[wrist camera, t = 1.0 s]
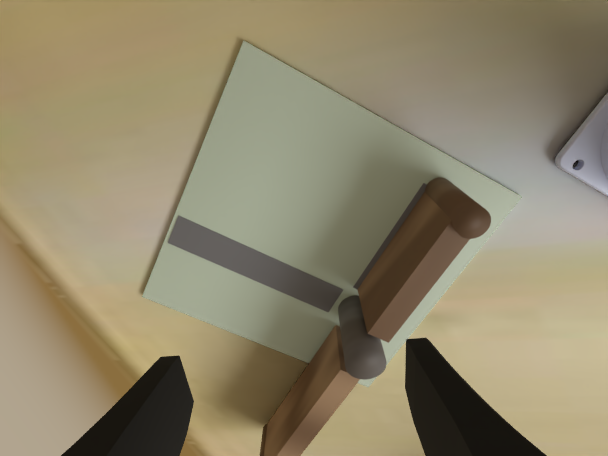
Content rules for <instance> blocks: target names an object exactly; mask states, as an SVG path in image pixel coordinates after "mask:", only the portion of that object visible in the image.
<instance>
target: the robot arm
mask: <svg viewBox="0 0 608 456" xmlns="http://www.w3.org/2000/svg"><path fill="white" fill-rule="evenodd" d="M577 160H578V164H577V166H576V167H574V168H573V164H574V162H575V161H577ZM555 163H556V166H557V167H558V168H560V169H562V170H563V171H565V172H567V173H568V174H570V175H572V176H574V177H575V178H577V179H579V180H580V181H582V182H584V183H585V184H587V185H589V186H590V187H592V188H594V189H595V190H597V191H599V192H600V193H602V194H604V195H605V196H607V197H608V93H607V94H606V95H605V96H604V97H603V99H602V100H601V101H600V102H599V104H598V105H597V106H596V107H595V109H594V110H593V111H592V112H591V114H590V115H589V116H588V117H587V118H586V120H585V121H584V122H583V123H582V125H581V126H580V127H579V128H578V130H577V131H576V132H575V133H574V135H573V136H572V137H571V138H570V140H569V141H568V142H567V143H566V144H565V146H564V147H563V148H562V149H561V151H560V152H559V153H558V155H557V156H556V159H555ZM405 389H406V393H407V397H408V401H409V406H410V410H411V414H412V418H413V421H414V424H415V427H416V430H417V433H418V436H419V439H420V441H421V444H422V447H423V450H424V453H425V455H426V456H547V455H545V454H544V453H543V452H541V451H540V450H539V449H538V448H537V447H535V446H534V445H533V444H532V443H531V442H529V441H528V440H527V439H526V438H525V437H523V436H522V435H521V434H520V433H519V432H518V431H517V430H515V429H514V428H513V427H512V426H511V425H510V424H509V423H508V422H506V421H505V420H504V419H503V418H502V417H501V416H500V415H499V414H498V413H497V412H496V411H495V410H494V409H493V408H491V407H490V406H489V405H488V404H487V403H486V402H485V401H484V400H483V399H482V398H481V397H480V396H479V395H478V394H477V393H476V392H475V391H474V390H473V389H472V388H471V387H470V385H469V384H468V383H467V382H466V381H465V380H464V379H463V378H462V377H461V376H460V375H459V374H458V373H457V372H456V371H455V370H454V368H453V367H452V366H451V365H450V364H449V363H448V362H447V361H446V360H445V358H444V357H443V356H442V355H441V354H440V353H439V351H438V350H437V349H436V348H435V347H434V346H433V344H432V343H431V342H430V341H429V340H428V339H427V338H417V339H406V374H405ZM193 403H194V401H193V397H192V394H191V391H190V388H189V385H188V382H187V378H186V375H185V372H184V369H183V366H182V362H181V359H180V356H167V357H160V358H159V359H158V360H157V361H156V362H155V363H154V364H153V365H152V366H151V368H150V369H149V370H148V371H147V372H146V373H145V374H144V375H143V376H142V377H141V378H140V379H139V380H138V381H137V382H136V383H135V384H134V385H133V386H132V388H131V389H130V390H129V391H128V392H127V393H126V394H125V395H124V396H123V397H122V398H121V399H120V400H119V401H118V402H117V403H116V404H115V405H114V406H113V407H112V408H111V409H110V410H109V411H108V412H107V413H106V414H105V415H104V416H103V417H102V418H101V419H100V420H99V421H98V422H97V423H96V424H95V425H94V426H93V427H91V428H90V429H89V430H88V431H87V432H86V433H85V434H84V435H83V436H82V437H81V438H80V439H79V440H78V441H77V442H76V443H75V444H74V445H72V446H71V448H69V449H68V450H67V451H66V452H65V453H63V454H62V455H61V456H179V455H180V453H181V449H182V447H183V444H184V441H185V438H186V435H187V430H188V426H189V422H190V417H191V413H192V408H193Z"/></svg>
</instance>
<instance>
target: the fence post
mask: <svg viewBox="0 0 608 456" xmlns="http://www.w3.org/2000/svg"><path fill="white" fill-rule="evenodd" d="M490 224H491V216H490V214H489V212H488V211H487V210H486V209H485V208H483V207H482V206H481V205H480V204H478V203H477V202H476V201H474V200H473V199H472V198H471V197H469V196H468V195H467V194H465V193H464V192H463V191H462V190H460V189H459V188H458V187H457V186H455V185H454V184H453V183H451V182H450V181H449V180H447V179H446V178H442V177H438V178H434V179H432V180H431V181H430V182H429V183H428V184H427V186H426V188H425V192H424V193H423V195H422V196H421V198H420V199H419V201H418V202H417V203H416V205H415V206H414V208H413V209H412V211H411V212H410V214H409V215H408V217H407V218H406V219H405V221H404V222H403V224H402V225H401V227H400V228H399V230H398V231H397V233H396V234H395V236H394V237H393V238H392V240H391V241H390V243H389V244H388V246H387V247H386V249H385V250H384V252H383V253H382V255H381V256H380V257H379V259H378V260H377V262H376V263H375V265H374V266H373V268H372V269H371V271H370V272H369V273H368V275H367V276H366V278H365V279H364V281H363V282H362V284H361V285H360V287H359V288H358V294H359V296H358V295H354V296H349V297H347V298H345V299H344V300H342V301H341V303H340V304H339V307H338V315H339V322H340V330H341V338H342V346H343V354H344V362H345V368H346V371H347V372H348V373H349V374H350V375H351V376H353V377H354V378H357V379H363V380H366V379H372V378H375V377H377V376H379V375H380V374H381V373H382V372H383V371H384V370H385V368H386V364H387V362H386V357H385V354H384V350H383V346H382V343H381V340H383V341H386V342H388V343H389V342H390V341H391V339H392V338H393V337H394V335H395V334H396V333H397V332H398V330H399V329H400V328H401V327H402V325H403V324H404V323H405V321H406V320H407V319H408V318H409V316H410V315H411V314H412V312H413V311H414V310H415V309H416V307H417V306H418V305H419V304H420V302H421V301H422V300H423V298H424V297H425V296H426V295H427V293H428V292H429V291H430V290H431V288H432V287H433V286H434V284H435V283H436V282H437V281H438V279H439V278H440V277H441V276H442V274H443V273H444V272H445V270H446V269H447V268H448V267H449V265H450V264H451V263H452V261H453V260H454V259H455V258H456V256H457V255H458V254H459V253H460V251H461V250H462V249H463V247H464V246H465V245H466V244H467V242H468V241H469V240H470V239H473V238H477V237H480V236H481V235H483V234H484V233H485V232H486V231H487V230H488V229H489V227H490Z"/></svg>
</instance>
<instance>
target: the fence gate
mask: <svg viewBox="0 0 608 456" xmlns="http://www.w3.org/2000/svg"><path fill="white" fill-rule="evenodd" d="M359 380H360V379H357V378H354V377H353V376H351V375H350V374H349V373H348V372H347V371H346V368H345V362H344V354H343V346H342V338H341V330H340V326H338V325H335V326H334V328H333V329H332V331H331V332H330V334H329V335H328V337H327V338H326V339H325V341H324V342H323V344H322V345H321V347H320V348H319V350H318V351H317V353H316V354H315V355H314V357H313V358H312V360H311V361H310V363H309V364H308V366H307V367H306V368H305V370H304V371H303V373H302V374H301V376H300V377H299V379H298V380H297V382H296V383H295V384H294V386H293V387H292V389H291V390H290V392H289V393H288V395H287V396H286V398H285V399H284V400H283V402H282V403H281V405H280V406H279V408H278V409H277V411H276V412H275V414H274V415H273V416H272V418H271V419H270V421H269V422H268V424H266V425H265V426H264V427H263V434H262V442H261V450H260V456H300V455H301V454H302V453H303V451H304V450H305V449H306V448H307V446H308V445H309V444H310V443H311V441H312V440H313V439H314V437H315V436H316V435H317V434H318V432H319V431H320V430H321V428H322V427H323V426H324V425H325V423H326V422H327V421H328V420H329V418H330V417H331V416H332V414H333V413H334V412H335V411H336V409H337V408H338V407H339V406H340V404H341V403H342V402H343V400H344V399H345V398H346V397H347V395H348V394H349V393H350V392H351V390H352V389H353V388H354V386H355V385H356V384H357V383H358V381H359Z"/></svg>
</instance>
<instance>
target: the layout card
mask: <svg viewBox="0 0 608 456" xmlns="http://www.w3.org/2000/svg"><path fill="white" fill-rule="evenodd" d="M438 177H442V178H446V179H447V180H449V181H450V182H451V183H453V184H454V185H455V186H457V187H458V188H459V189H460V190H462V191H463V192H464V193H465V194H467V195H468V196H469V197H471V198H472V199H473V200H474V201H476V202H477V203H478V204H480V205H481V206H482V207H483V208H485V209H486V210H487V211H488V212H489V214H490V216H491V224H490V227H489V229H488V230H487V231H486V232H485V233H484V234H483V235H481V236H480V237H477V238H473V239H470V240H469V241H468V242H467V244H466V245H465V246H464V247H463V249H462V250H461V251H460V253H459V254H458V255H457V256H456V258H455V259H454V260H453V261H452V263H451V264H450V265H449V267H448V268H447V269H446V270H445V272H444V273H443V274H442V276H441V277H440V278H439V279H438V281H437V282H436V283H435V284H434V286H433V287H432V288H431V290H430V291H429V292H428V293H427V295H426V296H425V297H424V298H423V300H422V301H421V302H420V304H419V305H418V306H417V307H416V309H415V310H414V311H413V312H412V314H411V315H410V316H409V318H408V319H407V320H406V321H405V323H404V324H403V325H402V327H401V328H400V329H399V330H398V332H397V333H396V334H395V335H394V337H393V338H392V339H391V341H390V342H389V343H388V342H386V341H383V340H381V343H382V346H383V350H384V354H385V357H386V362H387V364H388V363H389V361H390V360H391V359H392V358H393V356H394V355H395V354H396V353H397V351H398V350H399V349H400V348H401V346H402V345H403V344H404V343H405V342H406V339H408V338H409V337H410V335H411V334H412V333H413V332H414V330H415V329H416V328H417V327H418V325H419V324H420V323H421V322H422V320H423V319H424V318H425V317H426V316H427V314H428V313H429V312H430V311H431V309H432V308H433V307H434V306H435V304H436V303H437V302H438V301H439V299H440V298H441V297H442V296H443V294H444V293H445V292H446V291H447V290H448V288H449V287H450V286H451V285H452V283H453V282H454V281H455V280H456V278H457V277H458V276H459V275H460V273H461V272H462V271H463V270H464V268H465V267H466V266H467V265H468V264H469V262H470V261H471V260H472V259H473V257H474V256H475V255H476V254H477V252H478V251H479V250H480V249H481V247H482V246H483V245H484V244H485V242H486V241H487V240H488V239H489V238H490V236H491V235H492V234H493V233H494V231H495V230H496V229H497V228H498V226H499V225H500V224H501V223H502V221H503V220H504V219H505V218H506V216H507V215H508V214H509V213H510V212H511V210H512V209H513V208H514V207H515V205H516V204H517V203H518V202H519V200H520V199H521V198H522V197H521V196H520V195H518V194H516V193H514V192H513V191H511V190H509V189H507V188H505V187H504V186H502V185H500V184H498V183H497V182H495V181H493V180H491V179H489V178H488V177H486V176H484V175H482V174H481V173H479V172H477V171H475V170H473V169H472V168H470V167H468V166H466V165H465V164H463V163H461V162H459V161H457V160H456V159H454V158H452V157H450V156H449V155H447V154H445V153H443V152H441V151H440V150H438V149H436V148H434V147H433V146H431V145H429V144H427V143H425V142H424V141H422V140H420V139H418V138H416V137H415V136H413V135H411V134H409V133H408V132H406V131H404V130H402V129H400V128H399V127H397V126H395V125H393V124H392V123H390V122H388V121H386V120H384V119H383V118H381V117H379V116H377V115H376V114H374V113H372V112H370V111H368V110H367V109H365V108H363V107H361V106H360V105H358V104H356V103H354V102H352V101H351V100H349V99H347V98H345V97H344V96H342V95H340V94H338V93H336V92H335V91H333V90H331V89H329V88H327V87H326V86H324V85H322V84H320V83H319V82H317V81H315V80H313V79H311V78H310V77H308V76H306V75H304V74H303V73H301V72H299V71H297V70H295V69H294V68H292V67H290V66H288V65H287V64H285V63H283V62H281V61H279V60H278V59H276V58H274V57H272V56H271V55H269V54H267V53H265V52H263V51H262V50H260V49H258V48H256V47H254V46H253V45H251V44H249V43H247V42H246V41H243V43H242V46H241V48H240V51H239V53H238V56H237V59H236V61H235V64H234V66H233V69H232V71H231V74H230V76H229V79H228V81H227V84H226V86H225V89H224V91H223V94H222V96H221V99H220V101H219V104H218V106H217V109H216V112H215V114H214V117H213V119H212V122H211V124H210V127H209V129H208V132H207V134H206V137H205V139H204V142H203V144H202V147H201V149H200V152H199V154H198V157H197V159H196V162H195V164H194V167H193V170H192V172H191V175H190V177H189V180H188V182H187V185H186V187H185V190H184V192H183V195H182V197H181V200H180V202H179V205H178V207H177V210H176V212H175V215H174V217H173V220H172V222H171V225H170V228H169V230H168V233H167V235H166V238H165V240H164V243H163V245H162V248H161V250H160V253H159V255H158V258H157V260H156V263H155V265H154V268H153V270H152V273H151V275H150V278H149V281H148V283H147V286H146V288H145V291H144V293H143V296H142V297H144V298H146V299H149V300H151V301H154V302H156V303H159V304H161V305H164V306H166V307H169V308H171V309H174V310H176V311H179V312H181V313H184V314H186V315H189V316H191V317H194V318H196V319H199V320H201V321H204V322H206V323H209V324H211V325H214V326H216V327H219V328H221V329H224V330H226V331H229V332H231V333H234V334H236V335H239V336H241V337H244V338H246V339H249V340H251V341H254V342H256V343H259V344H261V345H264V346H266V347H269V348H271V349H274V350H276V351H279V352H281V353H284V354H286V355H289V356H291V357H294V358H296V359H299V360H301V361H304V362H306V363H310V361H311V360H312V358H313V357H314V355H315V354H316V353H317V351H318V350H319V348H320V347H321V345H322V344H323V342H324V341H325V339H326V338H327V337H328V335H329V334H330V332H331V331H332V329H333V328H334V326H335V325H338V326H340V322H339V315H338V307H339V304H340V303H341V301H342V300H344V299H345V298H347V297H349V296H354V295H358V296H359V294H358V288H359V287H360V285H361V284H362V282H363V281H364V279H365V278H366V276H367V275H368V273H369V272H370V271H371V269H372V268H373V266H374V265H375V263H376V262H377V260H378V259H379V257H380V256H381V255H382V253H383V252H384V250H385V249H386V247H387V246H388V244H389V243H390V241H391V240H392V238H393V237H394V236H395V234H396V233H397V231H398V230H399V228H400V227H401V225H402V224H403V222H404V221H405V219H406V218H407V217H408V215H409V214H410V212H411V211H412V209H413V208H414V206H415V205H416V203H417V202H418V201H419V199H420V198H421V196H422V195H423V193H424V192H425V188H426V186H427V184H428V183H429V182H430V181H431V180H432V179H434V178H438ZM387 364H386V365H387ZM375 379H376V377H375V378H372V379H366V380H363V379H360V380H359V381H358V383H359V384H361V385H364V386H366V387H369V386H370V385H371V384H372V382H373V381H374V380H375Z"/></svg>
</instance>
